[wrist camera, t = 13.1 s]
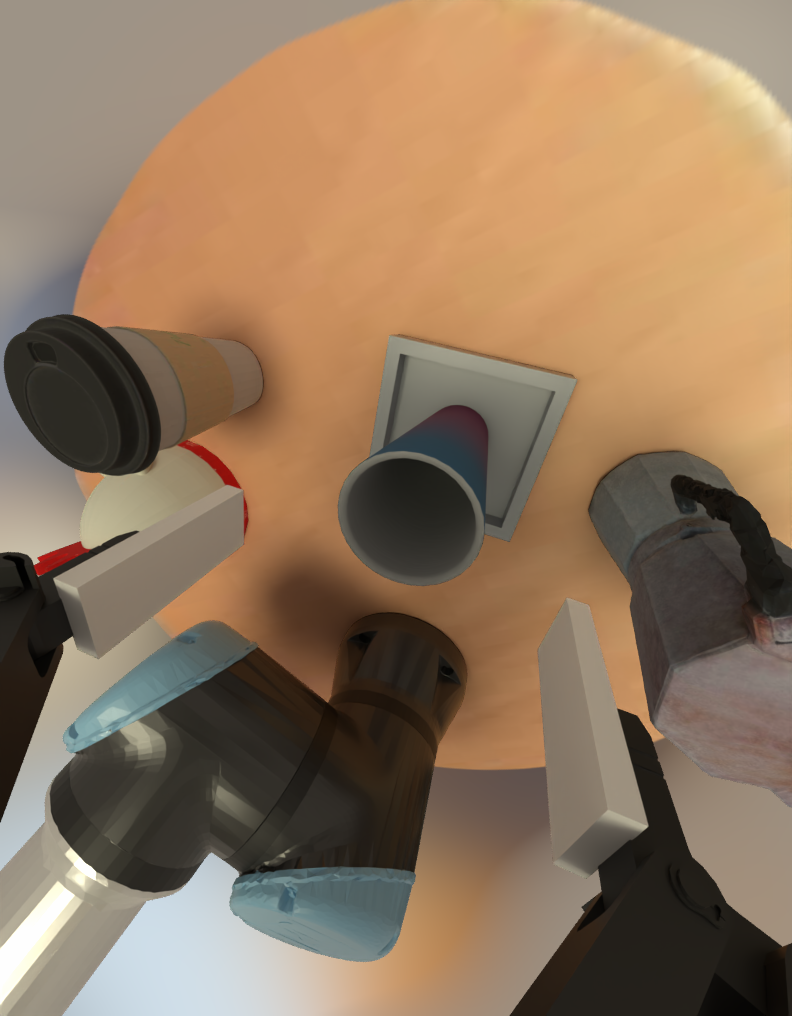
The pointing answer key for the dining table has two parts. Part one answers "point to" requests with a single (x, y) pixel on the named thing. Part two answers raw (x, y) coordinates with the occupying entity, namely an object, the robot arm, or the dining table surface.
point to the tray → (490, 392)
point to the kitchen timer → (145, 498)
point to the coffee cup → (123, 389)
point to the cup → (421, 500)
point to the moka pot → (705, 614)
